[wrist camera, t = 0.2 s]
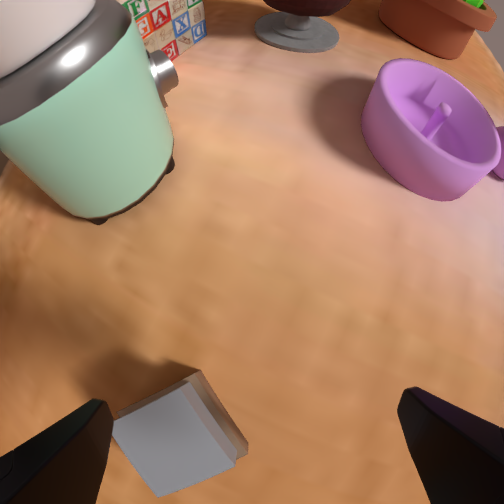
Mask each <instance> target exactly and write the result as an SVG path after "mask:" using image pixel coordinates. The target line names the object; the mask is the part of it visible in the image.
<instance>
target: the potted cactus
mask: <svg viewBox="0 0 504 504" xmlns="http://www.w3.org/2000/svg"><path fill="white" fill-rule="evenodd" d="M378 14H379V18H380V19H381V21H382V22H383V23H384V24H385V25H386V26H387V27H388V28H390V29H391V30H392V31H393V32H395V33H396V34H398V35H399V36H401V37H402V38H404V39H405V40H407V41H408V42H410V43H412V44H414V45H415V46H417V47H419V48H421V49H423V50H425V51H427V52H429V53H431V54H433V55H435V56H438V57H441V58H445V59H456V58H458V57H459V56H460V55H461V53H462V52H463V50H464V48H465V46H466V45H467V43H468V41H469V39H470V38H471V36H472V34H473V32H474V30H475V29H477V30H480V31H485V32H488V31H489V30H490V29H491V27H492V25H493V24H494V22H495V20H496V18H497V16H496V14H495V12H494V11H493V10H492V9H491V8H490V7H489V6H488V5H487V4H486V3H485V2H484V0H382V2H381V5H380V8H379V13H378Z"/></svg>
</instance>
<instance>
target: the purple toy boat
mask: <svg viewBox="0 0 504 504" xmlns="http://www.w3.org/2000/svg"><path fill="white" fill-rule="evenodd" d="M361 127H362V132H363V136H364V138H365V141H366V143H367V146H368V148H369V149H370V151H371V152H372V154H373V156H374V157H375V159H376V160H377V161H378V162H379V164H380V165H381V166H382V167H383V169H384V170H386V171H387V172H388V173H389V174H390V175H391V176H392V177H393V178H394V179H395V180H396V181H398V182H399V183H400V184H402V185H403V186H404V187H406V188H407V189H409V190H411V191H412V192H414V193H416V194H418V195H420V196H423V197H425V198H428V199H431V200H437V201H452V200H455V199H457V198H460V197H461V196H462V195H463V194H465V193H466V192H467V191H468V190H469V189H470V188H472V187H473V186H474V185H475V184H476V183H477V182H479V181H480V180H481V179H482V178H483V177H484V176H486V175H487V174H488V173H489V172H490V171H491V170H493V172H494V173H495V174H496V175H497V176H499V177H500V178H502V179H504V126H501V127H495V125H494V123H493V120H492V119H491V117H490V115H489V114H488V112H487V111H486V109H485V108H484V107H483V105H482V104H481V103H480V101H479V100H478V99H477V98H476V97H475V96H474V95H473V94H472V93H471V92H470V91H469V90H468V89H467V88H466V87H465V86H464V85H463V84H461V83H460V82H459V81H457V80H456V79H455V78H453V77H452V76H451V75H449V74H447V73H446V72H444V71H442V70H441V69H439V68H436V67H434V66H432V65H430V64H427V63H424V62H421V61H418V60H413V59H402V58H399V59H394V60H390V61H388V62H386V63H385V64H384V65H383V66H382V67H381V69H380V71H379V73H378V76H377V78H376V81H375V83H374V85H373V88H372V90H371V93H370V95H369V97H368V100H367V102H366V104H365V107H364V109H363V112H362V115H361Z"/></svg>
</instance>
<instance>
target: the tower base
mask: <svg viewBox="0 0 504 504" xmlns="http://www.w3.org/2000/svg"><path fill="white" fill-rule="evenodd" d="M188 382H190V383H191V385H192V386H193V388H194V389H195V391H196V392H197V394H198V395H199V397H200V399H201V400H202V402H203V403H204V405H205V406H206V408H207V409H208V410H209V412H210V413H211V415H212V416H213V418H214V419H215V421H216V422H217V424H218V425H219V426H220V428H221V429H222V431H223V432H224V433H225V435H226V436H227V437H228V439H229V440H230V442H231V443H232V444H233V446H234V447H235V448H236V450H237V455H236V459H239V458H241V457H243V456H245V455H247V454H248V442H247V440H246V439H245V437H244V436H243V434H242V433H241V432H240V430H239V429H238V427H237V426H236V424H235V423H234V421H233V420H232V418H231V417H230V415H229V414H228V412H227V411H226V409H225V408H224V406H223V405H222V403H221V402H220V400H219V399H218V397H217V395H216V394H215V392H214V391H213V389H212V388H211V386H210V384H209V383H208V381H207V379H206V378H205V376H204V375H203V373H202V371H201V370H200V371H198V372H196V373H194V374H192V375H190V376H188V377H186V378H185V379H183V380H181V381H179V382H177V383H175V384H173V385H171V386H169V387H167V388H165V389H163V390H161V391H159V392H157V393H155V394H153V395H151V396H149V397H147V398H145V399H143V400H141V401H139V402H137V403H135V404H133V405H130V406H128V407H126V408H124V409H122V410H120V411H118V412H117V414H118V415H119V417H122V416H124V415H126V414H128V413H130V412H132V411H135V410H137V409H139V408H141V407H143V406H145V405H147V404H149V403H150V402H152V401H154V400H156V399H158V398H160V397H162V396H164V395H166V394H168V393H170V392H172V391H173V390H175V389H177V388H179V387H181V386H183V385H185V384H186V383H188Z"/></svg>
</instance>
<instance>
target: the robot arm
mask: <svg viewBox="0 0 504 504" xmlns="http://www.w3.org/2000/svg"><path fill="white" fill-rule="evenodd" d="M397 413H398V417H399V420H400V423H401V426H402V430H403V433H404V436H405V439H406V443H407V446H408V449H409V452H410V454H411V457H412V459H413V461H414V464H415V466H416V468H417V471H418V473H419V476H420V478H421V480H422V483H423V485H424V488H425V490H426V493H427V495H428V498H429V500H430V503H431V504H504V428H502V427H500V428H499V426H497V425H495V424H493V423H491V422H488V421H486V420H484V419H482V418H480V417H478V416H476V415H473V414H471V413H469V412H467V411H465V410H463V409H461V408H459V407H457V406H455V405H453V404H451V403H449V402H447V401H445V400H443V399H441V398H439V397H437V396H435V395H433V394H431V393H429V392H427V391H425V390H423V389H421V388H419V387H411V388H407V389H405V390H404V391H403V394H402V397H401V399H400V402H399V405H398V409H397ZM113 427H114V420H113V417H112V414H111V412H110V409H109V407H108V404H107V402H106V401H105V400H101V399H91V400H90V401H88V402H87V403H85V404H84V405H82V406H81V407H79V408H78V409H76V410H75V411H73V412H72V413H70V414H69V415H67V416H65V417H64V418H62V419H61V420H59V421H58V422H56V423H55V424H53V425H52V426H50V427H48V428H47V429H45V430H44V431H42V432H41V433H39V434H37V435H36V436H34V437H33V438H31V439H29V440H28V441H26V442H25V443H23V444H21V445H20V446H18V447H17V448H15V449H14V451H13V450H12V451H10V452H8V453H7V454H5V455H3V456H1V457H0V504H95V503H96V500H97V496H98V492H99V489H100V485H101V482H102V478H103V475H104V472H105V468H106V464H107V459H108V453H109V448H110V442H111V437H112V432H113Z"/></svg>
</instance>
